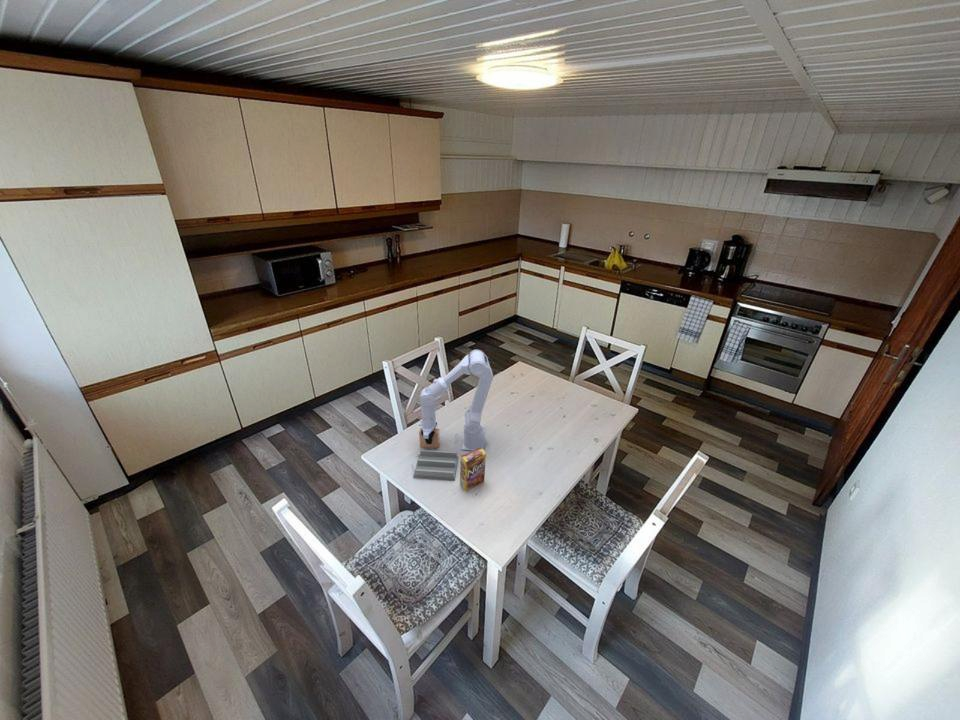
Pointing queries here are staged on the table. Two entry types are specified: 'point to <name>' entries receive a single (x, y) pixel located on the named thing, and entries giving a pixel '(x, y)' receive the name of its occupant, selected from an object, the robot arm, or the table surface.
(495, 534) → the table surface
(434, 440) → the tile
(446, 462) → the rack
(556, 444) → the table surface
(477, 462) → the candy box
